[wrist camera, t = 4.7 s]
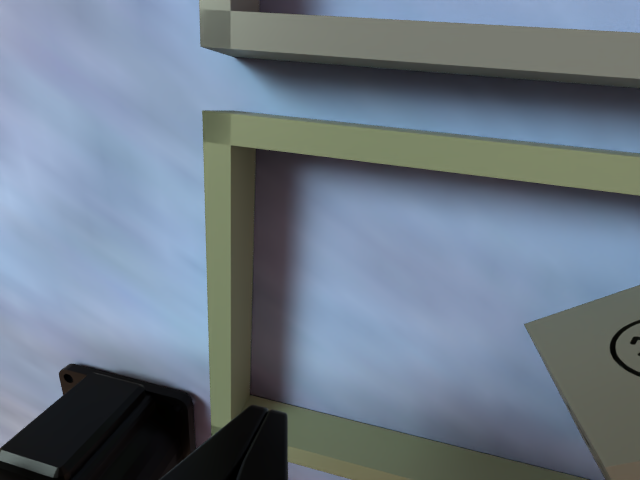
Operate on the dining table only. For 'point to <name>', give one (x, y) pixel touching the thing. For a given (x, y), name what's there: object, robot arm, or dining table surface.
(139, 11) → the dining table surface
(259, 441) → the robot arm
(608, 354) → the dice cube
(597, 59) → the olive u-shaped frame
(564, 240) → the dining table surface
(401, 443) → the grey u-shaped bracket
